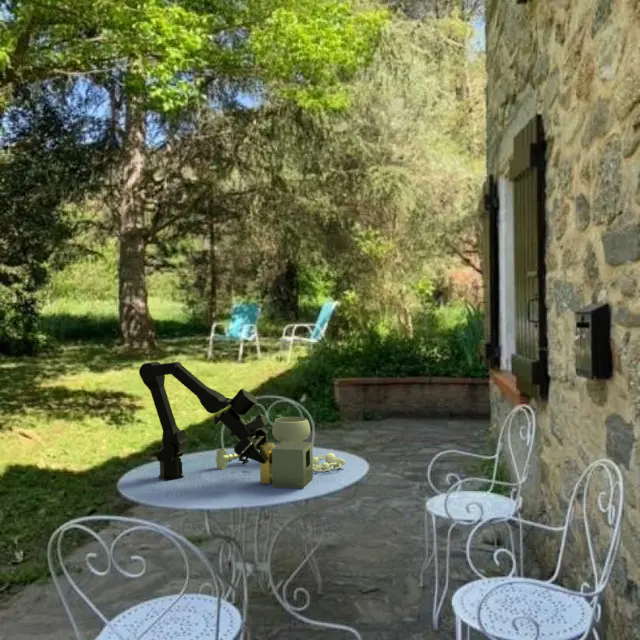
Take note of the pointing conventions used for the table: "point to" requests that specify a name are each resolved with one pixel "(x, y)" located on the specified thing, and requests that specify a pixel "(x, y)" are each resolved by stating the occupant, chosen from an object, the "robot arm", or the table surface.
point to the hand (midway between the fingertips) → (269, 459)
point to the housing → (292, 464)
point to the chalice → (291, 429)
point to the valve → (227, 458)
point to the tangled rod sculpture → (329, 459)
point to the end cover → (267, 467)
